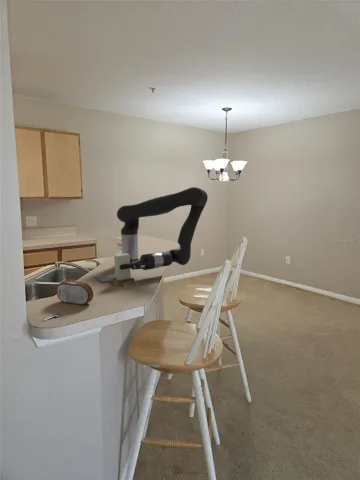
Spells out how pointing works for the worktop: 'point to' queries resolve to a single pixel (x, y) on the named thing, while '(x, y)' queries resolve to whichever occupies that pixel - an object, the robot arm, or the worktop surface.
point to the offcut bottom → (129, 286)
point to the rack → (120, 281)
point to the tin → (74, 292)
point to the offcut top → (128, 283)
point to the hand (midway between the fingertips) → (118, 266)
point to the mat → (105, 278)
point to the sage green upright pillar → (119, 261)
